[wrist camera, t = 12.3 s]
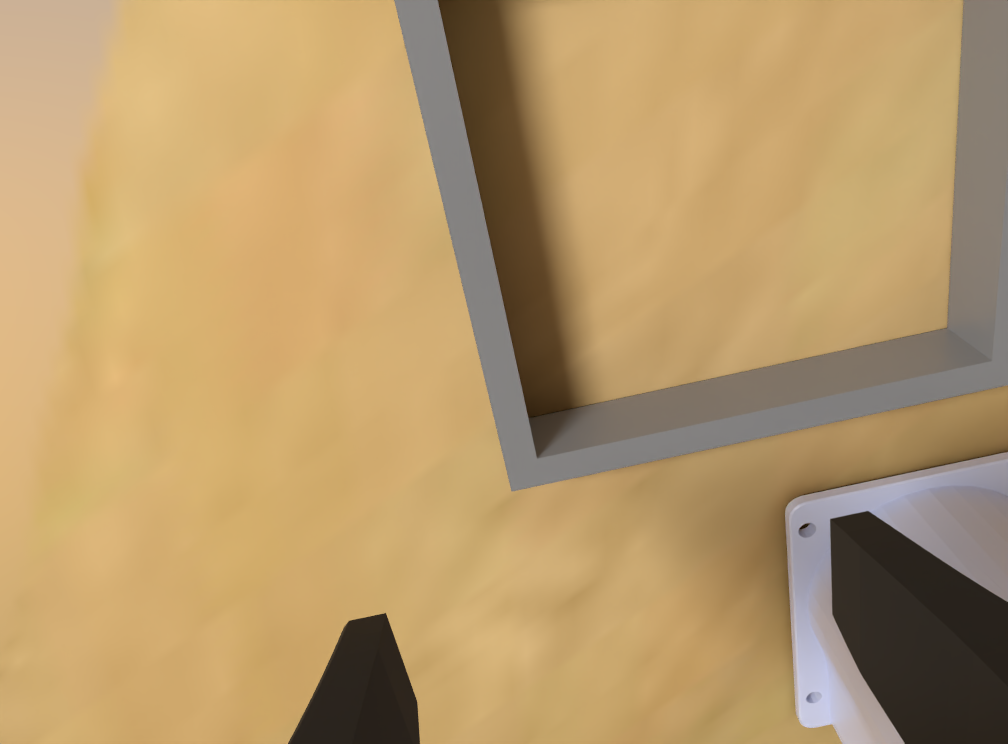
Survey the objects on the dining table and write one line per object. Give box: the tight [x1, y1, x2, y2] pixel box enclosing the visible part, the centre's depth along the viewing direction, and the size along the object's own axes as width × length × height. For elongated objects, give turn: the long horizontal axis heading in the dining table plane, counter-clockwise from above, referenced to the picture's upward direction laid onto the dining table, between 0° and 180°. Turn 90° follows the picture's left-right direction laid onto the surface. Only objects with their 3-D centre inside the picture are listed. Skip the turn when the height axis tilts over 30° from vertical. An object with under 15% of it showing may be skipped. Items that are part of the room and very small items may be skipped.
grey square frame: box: [394, 0, 1008, 491], centre depth 19 cm, size 13×13×2 cm
